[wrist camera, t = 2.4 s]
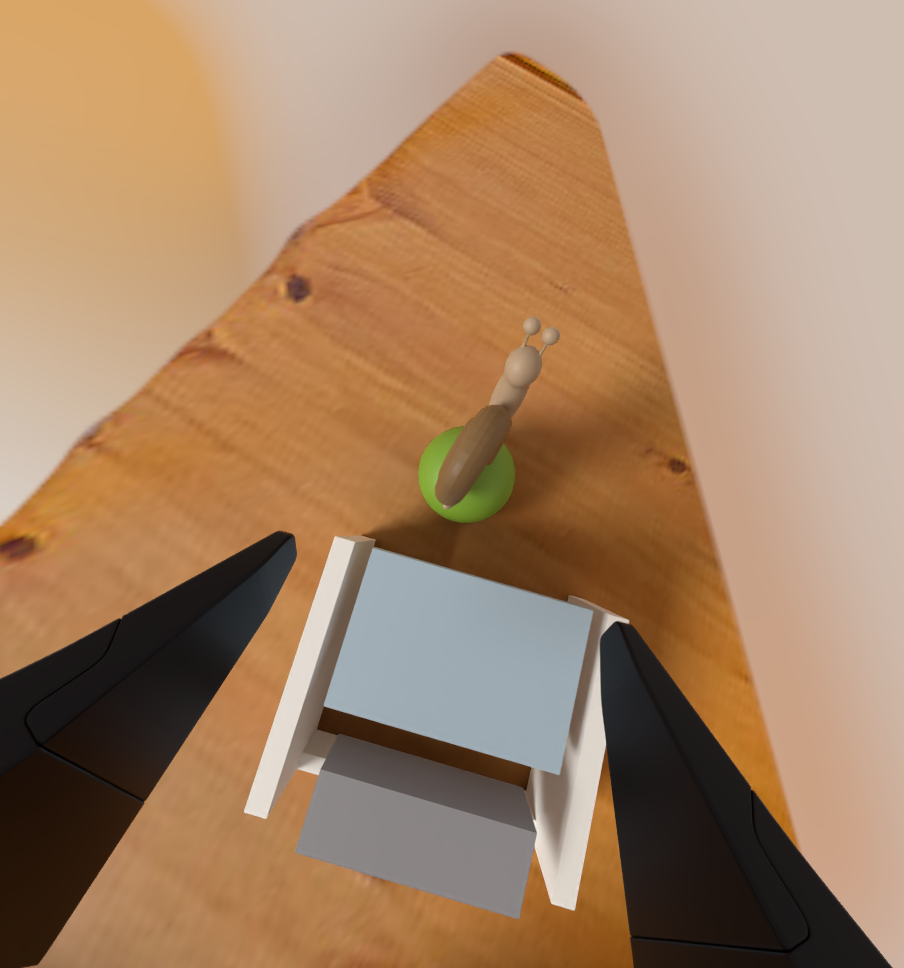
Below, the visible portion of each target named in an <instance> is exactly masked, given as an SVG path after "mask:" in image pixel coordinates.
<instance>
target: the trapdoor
mask: <svg viewBox="0 0 904 968" xmlns="http://www.w3.org/2000/svg"><path fill="white" fill-rule="evenodd" d="M592 615H593V610H591V609H589V608H587V607H584V606H580V605H577V604H573V603H570V602H566V601H563V600H559V599H556V598H552V597H549V596H545V595H542V594H538V593H535V592H531V591H528V590H524V589H521V588H517V587H514V586H510V585H507V584H503V583H500V582H496V581H493V580H489V579H486V578H482V577H479V576H475V575H472V574H468V573H465V572H461V571H458V570H454V569H451V568H447V567H444V566H440V565H437V564H433V563H430V562H426V561H423V560H419V559H416V558H412V557H409V556H405V555H402V554H398V553H395V552H391V551H388V550H384V549H381V548H377V547H374V548H372V551H371V554H370V558H369V561H368V564H367V567H366V570H365V574H364V577H363V580H362V583H361V587H360V590H359V593H358V596H357V599H356V603H355V606H354V609H353V612H352V615H351V619H350V622H349V625H348V628H347V631H346V635H345V638H344V641H343V644H342V647H341V651H340V654H339V657H338V660H337V663H336V667H335V670H334V673H333V676H332V679H331V683H330V686H329V689H328V692H327V696H326V699H325V702H324V705H323V706H324V707H328V708H331V709H335V710H338V711H341V712H345V713H348V714H352V715H355V716H359V717H362V718H365V719H369V720H372V721H376V722H379V723H382V724H386V725H389V726H393V727H396V728H400V729H403V730H406V731H410V732H413V733H417V734H420V735H423V736H427V737H430V738H434V739H437V740H441V741H444V742H447V743H451V744H454V745H458V746H461V747H465V748H468V749H471V750H475V751H478V752H482V753H485V754H488V755H492V756H495V757H499V758H502V759H506V760H509V761H512V762H516V763H519V764H523V765H526V766H529V767H533V768H536V769H540V770H543V771H547V772H550V773H553V774H557V775H560V771H561V766H562V761H563V756H564V751H565V746H566V742H567V737H568V732H569V727H570V722H571V717H572V712H573V708H574V703H575V698H576V693H577V688H578V683H579V678H580V673H581V669H582V664H583V659H584V654H585V649H586V644H587V639H588V635H589V630H590V625H591V620H592ZM536 836H537V831H536V828H535V825H534V822H533V819H532V815H531V812H530V809H529V806H528V803H527V799H526V796H525V793H524V790H523V787H520V786H517V785H513V784H510V783H507V782H503V781H500V780H496V779H493V778H490V777H486V776H483V775H479V774H476V773H473V772H469V771H466V770H462V769H459V768H456V767H452V766H449V765H445V764H442V763H439V762H435V761H432V760H428V759H425V758H421V757H418V756H415V755H411V754H408V753H404V752H401V751H398V750H394V749H391V748H387V747H384V746H381V745H377V744H374V743H370V742H367V741H364V740H360V739H357V738H353V737H350V736H346V735H343V734H340V733H339V734H338V736H337V738H336V740H335V742H334V744H333V746H332V748H331V750H330V752H329V754H328V756H327V757H326V759H325V761H324V763H323V765H322V767H321V769H320V772H319V776H318V779H317V782H316V785H315V789H314V792H313V795H312V799H311V802H310V805H309V808H308V812H307V815H306V818H305V821H304V825H303V828H302V831H301V835H300V838H299V841H298V844H297V848H296V851H295V853H298V854H301V855H304V856H308V857H311V858H315V859H318V860H321V861H325V862H328V863H331V864H335V865H338V866H341V867H345V868H348V869H351V870H355V871H358V872H361V873H365V874H368V875H371V876H375V877H378V878H381V879H385V880H388V881H392V882H395V883H398V884H402V885H405V886H408V887H412V888H415V889H418V890H422V891H425V892H428V893H432V894H435V895H438V896H442V897H445V898H448V899H452V900H455V901H458V902H462V903H465V904H469V905H472V906H475V907H479V908H482V909H485V910H489V911H492V912H495V913H499V914H502V915H505V916H509V917H512V918H515V919H519V917H520V912H521V907H522V903H523V898H524V893H525V888H526V884H527V879H528V874H529V869H530V864H531V860H532V855H533V850H534V845H535V841H536Z"/></svg>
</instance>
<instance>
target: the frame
mask: <svg viewBox="0 0 904 968" xmlns="http://www.w3.org/2000/svg"><path fill="white" fill-rule="evenodd" d="M375 541H376V540H375V539H372V538H368V537H365V536H361V535H357V536H335V538H334V541H333V544H332V547H331V550H330V553H329V556H328V559H327V562H326V565H325V568H324V571H323V574H322V577H321V580H320V583H319V586H318V589H317V592H316V595H315V598H314V601H313V604H312V607H311V610H310V613H309V616H308V619H307V623H306V626H305V629H304V632H303V635H302V638H301V641H300V644H299V647H298V650H297V653H296V656H295V659H294V662H293V665H292V668H291V671H290V674H289V677H288V680H287V683H286V686H285V689H284V692H283V695H282V698H281V701H280V704H279V707H278V710H277V713H276V716H275V719H274V722H273V725H272V728H271V731H270V734H269V737H268V740H267V743H266V746H265V749H264V753H263V756H262V759H261V762H260V765H259V768H258V771H257V774H256V777H255V780H254V783H253V786H252V789H251V792H250V795H249V798H248V801H247V804H246V807H245V810H244V812H245V813H248V814H251V815H255V816H258V817H261V818H265V819H267V817H268V815H269V814H270V812H271V810H272V809H273V807H274V806H275V804H276V802H277V801H278V799H279V797H280V796H281V794H282V793H283V791H284V789H285V788H286V786H287V784H288V783H289V781H290V780H291V778H292V776H293V775H294V773H295V772H296V770H297V769H299V770H303V771H306V772H309V773H313V774H316V775H319V772H320V769H321V767H322V765H323V763H324V761H325V759H326V757H327V756H328V754H329V752H330V750H331V748H332V746H333V744H334V742H335V740H336V738H337V736H338V735H334V734H331V733H328V732H324V731H321V730H317V728H318V724H319V721H320V718H321V715H322V712H323V708H324V706H323V705H324V702H325V699H326V696H327V692H328V689H329V686H330V683H331V679H332V676H333V673H334V670H335V667H336V663H337V660H338V657H339V654H340V651H341V647H342V644H343V641H344V638H345V635H346V631H347V628H348V625H349V622H350V619H351V615H352V612H353V609H354V606H355V603H356V599H357V596H358V593H359V590H360V587H361V583H362V580H363V577H364V574H365V570H366V567H367V564H368V561H369V558H370V554H371V551H372V548H374V545H375ZM567 602H570V603H573V604H577V605H580V606H584V607H587V608H589V609H591V610H593V615H592V620H591V625H590V630H589V635H588V639H587V644H586V649H585V654H584V659H583V664H582V669H581V673H580V678H579V683H578V688H577V693H576V698H575V703H574V708H573V712H572V717H571V722H570V727H569V732H568V737H567V742H566V746H565V751H564V756H563V761H562V766H561V771H560V775H557V774H553V773H550V772H547V771H543V770H540V769H536V768H533V767H531V771H530V776H529V780H528V785H527V789H526V791H525V790H524V793H525V796H526V799H527V803H528V806H529V809H530V812H531V815H532V819H533V822H534V825H535V828H536V831H537V836H536V841H535V845H534V846H535V849H536V853H537V856H538V860H539V863H540V866H541V870H542V873H543V877H544V880H545V883H546V887H547V890H548V894H549V897H550V900H551V904H554V905H557V906H560V907H564V908H567V909H571V910H574V911H575V906H576V901H577V895H578V890H579V885H580V879H581V874H582V869H583V864H584V858H585V853H586V848H587V842H588V837H589V832H590V826H591V821H592V816H593V811H594V805H595V800H596V795H597V789H598V784H599V779H600V774H601V768H602V763H603V758H604V752H605V747H606V738H605V730H604V722H603V714H602V705H601V686H600V638H601V636H602V634H603V633H604V632H605V631H606V630H607V629H608V628H609V627H610V626H611V625H612V624H613V623H614V622H615V621H620V622H624V623H628V624H629V620H628V619H626V618H623V617H621V616H619V615H617V614H615V613H613V612H611V611H609V610H606V609H604V608H602V607H600V606H598V605H596V604H594V603H592V602H589V601H587V600H585V599H582V598H579V597H575V596H572V595H569V597H568V601H567Z"/></svg>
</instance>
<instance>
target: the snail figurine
mask: <svg viewBox="0 0 904 968" xmlns="http://www.w3.org/2000/svg"><path fill="white" fill-rule="evenodd" d="M540 328H541V323H540V321H539V320H538V319H537V318H535V317H529V318H527V319H526V320H525V322H524V325H523V329H524V332H525V333H526V334H527V336H526V338H525V340H524V342H523V344H522V346H521V347H518V348H517V349H515V350H514V351H513V352H512V353H511V354H510V355H509V356H508V358H507V360H506V363H505V368H504V373H503V375H502V377H501V378H500V380H499V382H498V383H497V385H496V387H495V389H494V392H493V394H492V397H491V400H490V403H489V405H488V406H486V407H485V408H483V409H481V410H480V411H479V412H478V414H477V415H476V416H475V417H473V418H472V419H470V420H469V421H468V423H467V424H466V425H465V426H461V427H456V428H452V429H449V430H447V431H445V432H443V433H441V434H440V435H438V436H437V437H436V438H434V439H433V440H432V441H431V443H430V444H429V445H428V446H427V448H426V449H425V451H424V453H423V455H422V457H421V460H420V464H419V470H418V479H419V485H420V489H421V492H422V494H423V496H424V498H425V500H426V502H427V503H428V504H429V506H430V507H431V508H432V509H433V510H434V511H435V512H437V513H438V514H439V515H441V516H442V517H444V518H446V519H449V520H451V521H455V522H460V523H473V522H479V521H482V520H485V519H487V518H489V517H491V516H493V515H494V514H495V513H497V512H498V511H499V510H500V509H501V508H502V507H503V506H504V505H505V504H506V502H507V501H508V499H509V497H510V495H511V493H512V490H513V487H514V483H515V466H514V462H513V459H512V456H511V454H510V452H509V450H508V448H507V447H506V445H505V444H504V441H505V439H506V437H507V435H508V433H509V431H510V428H511V418H512V416H513V415H514V414H515V412H516V411H517V410H518V408H519V407H520V405H521V403H522V401H523V400H524V398H525V395H526V393H527V391H528V388H529V386H530V384H531V383H532V382H534V381H535V379H536V378H537V377H538V375H539V373H540V371H541V367H542V358H541V356H542V354H543V352H544V350H545V348H546V346H547V345H554V344H555V343H557V341H558V340H559V337H560V334H559V331H558V330H557V329H556V328H554V327H548V328H546V329H545V330H544V331H543V333H542V341H543V342H544V343H545V345H544V347H543V348H542V350H541V351H540V353H539V351H538V350H537V349H536V348H535V347H533V346H529V345H526V342H527V340H528V337H529V335H535V334H537V333H538V332H539V330H540ZM525 345H526V346H525Z"/></svg>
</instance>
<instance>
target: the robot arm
mask: <svg viewBox="0 0 904 968" xmlns="http://www.w3.org/2000/svg"><path fill="white" fill-rule="evenodd" d="M296 556H297V550H296V543H295V537H294V535H293V534H291V533H287V532H283V531H277V532H275V533H273V534H271V535H269V536H267V537H266V538H264V539H262V540H260V541H258V542H256V543H255V544H253V545H251V546H249V547H247V548H246V549H244V550H242V551H240V552H238V553H236V554H235V555H233V556H231V557H229V558H227V559H226V560H224V561H222V562H220V563H218V564H216V565H215V566H213V567H211V568H209V569H207V570H206V571H204V572H202V573H200V574H198V575H197V576H195V577H193V578H191V579H189V580H187V581H186V582H184V583H182V584H180V585H178V586H177V587H175V588H173V589H171V590H169V591H167V592H166V593H164V594H162V595H160V596H158V597H157V598H155V599H153V600H151V601H149V602H147V603H146V604H144V605H142V606H140V607H138V608H137V609H135V610H133V611H131V612H129V613H128V614H126V615H124V616H123V617H122V618H121V619H120V618H119V619H116V620H115V621H113V622H111V623H109V624H107V625H105V626H104V627H102V628H100V629H98V630H96V631H94V632H93V633H91V634H89V635H87V636H85V637H83V638H81V639H79V640H78V641H76V642H74V643H72V644H70V645H68V646H66V647H64V648H62V649H60V650H58V651H56V652H54V653H52V654H50V655H48V656H46V657H44V658H42V659H40V660H38V661H36V662H34V663H32V664H30V665H28V666H26V667H24V668H22V669H20V670H18V671H16V672H13V673H11V674H9V675H7V676H5V677H3V678H1V679H0V968H24V967H30V966H35V965H38V964H39V963H40V961H41V960H42V958H43V957H44V956H45V954H46V953H47V951H48V950H49V948H50V947H51V945H52V944H53V942H54V941H55V939H56V938H57V936H58V935H59V933H60V932H61V930H62V929H63V927H64V926H65V924H66V922H67V921H68V919H69V918H70V916H71V915H72V913H73V912H74V910H75V909H76V907H77V906H78V904H79V903H80V901H81V899H82V898H83V896H84V895H85V893H86V892H87V890H88V889H89V887H90V886H91V884H92V883H93V881H94V880H95V878H96V877H97V875H98V873H99V872H100V870H101V869H102V867H103V866H104V864H105V863H106V861H107V860H108V858H109V857H110V855H111V854H112V852H113V850H114V849H115V847H116V846H117V844H118V843H119V841H120V840H121V838H122V837H123V835H124V834H125V832H126V831H127V829H128V828H129V826H130V824H131V823H132V821H133V820H134V818H135V817H136V815H137V814H138V812H139V811H140V809H141V808H142V806H143V805H144V801H145V800H146V799H147V798H148V797H149V795H150V793H151V792H152V790H153V789H154V787H155V786H156V784H157V783H158V781H159V780H160V778H161V777H162V775H163V774H164V772H165V771H166V769H167V767H168V766H169V764H170V763H171V761H172V760H173V758H174V757H175V755H176V754H177V752H178V751H179V749H180V748H181V746H182V744H183V743H184V741H185V740H186V738H187V737H188V735H189V734H190V732H191V731H192V729H193V728H194V726H195V725H196V723H197V722H198V720H199V718H200V717H201V715H202V714H203V712H204V711H205V709H206V708H207V706H208V705H209V703H210V702H211V700H212V699H213V697H214V696H215V694H216V692H217V691H218V689H219V688H220V686H221V685H222V683H223V682H224V680H225V679H226V677H227V676H228V674H229V673H230V671H231V670H232V668H233V666H234V665H235V663H236V662H237V660H238V659H239V657H240V656H241V654H242V653H243V651H244V650H245V648H246V647H247V645H248V643H249V642H250V640H251V639H252V637H253V636H254V634H255V633H256V631H257V630H258V628H259V627H260V625H261V624H262V622H263V621H264V619H265V617H266V616H267V614H268V612H269V611H270V609H271V607H272V605H273V603H274V601H275V599H276V597H277V595H278V594H279V592H280V590H281V588H282V586H283V584H284V582H285V580H286V578H287V576H288V574H289V572H290V570H291V568H292V566H293V564H294V562H295V560H296ZM600 686H601V705H602V714H603V722H604V730H605V738H606V746H607V754H608V762H609V770H610V778H611V786H612V794H613V802H614V810H615V818H616V826H617V834H618V842H619V850H620V858H621V866H622V874H623V882H624V890H625V898H626V906H627V914H628V922H629V930H630V935H631V937H630V940H631V948H632V956H633V964H634V968H892V967H891V965H890V964H889V963H888V962H887V961H886V959H885V958H884V957H883V955H882V954H881V953H880V952H879V951H878V949H877V948H876V947H875V946H874V944H873V943H872V942H871V941H870V939H869V938H868V937H867V936H866V935H865V933H864V932H863V931H862V929H861V928H860V927H859V926H858V925H857V923H856V922H855V921H854V920H853V918H852V917H851V916H850V915H849V913H848V912H847V911H846V910H845V908H843V906H842V905H841V904H840V902H839V901H838V900H837V898H836V897H835V896H834V895H833V893H832V892H831V891H830V890H829V889H828V887H827V886H826V885H825V883H824V882H823V881H822V880H821V878H820V877H819V876H818V875H817V873H816V872H815V871H814V870H813V868H812V867H811V866H810V864H809V863H808V862H807V861H806V859H805V858H804V857H803V856H802V854H801V853H800V852H799V851H798V849H797V848H796V847H795V845H794V844H793V843H792V841H791V840H790V839H789V837H788V836H787V835H786V833H785V832H784V831H783V829H782V828H781V827H780V825H779V824H778V823H777V821H776V820H775V819H774V817H773V816H772V815H771V813H770V812H769V811H768V809H767V808H766V807H765V805H764V804H763V802H762V801H761V800H760V798H759V797H758V796H757V794H756V793H755V792H754V791H753V790H751V786H750V785H749V783H748V782H747V781H746V779H745V778H744V777H743V775H742V774H741V773H740V771H739V770H738V768H737V767H736V766H735V764H734V763H733V762H732V760H731V759H730V758H729V756H728V755H727V753H726V752H725V751H724V749H723V748H722V747H721V745H720V744H719V742H718V741H717V740H716V738H715V737H714V736H713V734H712V733H711V732H710V730H709V729H708V727H707V726H706V725H705V723H704V722H703V721H702V719H701V718H700V716H699V715H698V714H697V712H696V711H695V710H694V708H693V707H692V706H691V704H690V703H689V701H688V700H687V699H686V697H685V696H684V695H683V693H682V692H681V690H680V689H679V688H678V686H677V685H676V684H675V682H674V681H673V680H672V678H671V677H670V675H669V674H668V673H667V671H666V670H665V669H664V667H663V666H662V665H661V663H660V662H659V660H658V659H657V658H656V656H655V655H654V654H653V652H652V651H651V649H650V648H649V647H648V645H647V644H646V643H645V641H644V640H643V639H642V637H641V636H640V634H639V633H638V632H637V630H636V629H635V628H634V627H633V626H632V625H630V624H628V623H624V622H620V621H615V622H614V623H613V624H612V625H611V626H610V627H609V628H608V629H607V630H606V631H605V632H604V633H603V634H602V636H601V638H600Z"/></svg>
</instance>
